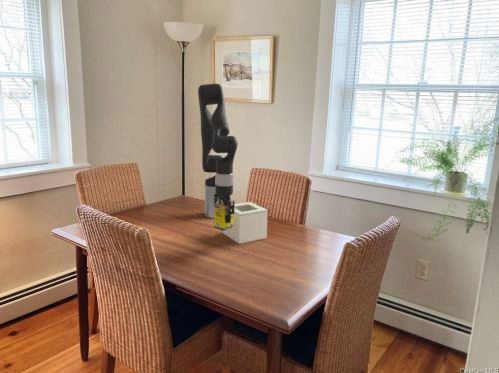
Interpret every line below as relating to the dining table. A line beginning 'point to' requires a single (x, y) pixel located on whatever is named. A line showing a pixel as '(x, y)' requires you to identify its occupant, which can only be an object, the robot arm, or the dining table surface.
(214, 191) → the robot arm
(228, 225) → the supplement box
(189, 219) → the dining table surface
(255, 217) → the storage box
